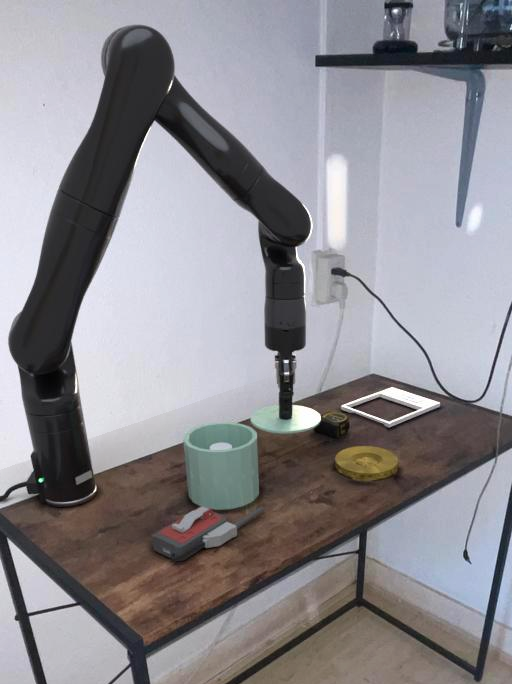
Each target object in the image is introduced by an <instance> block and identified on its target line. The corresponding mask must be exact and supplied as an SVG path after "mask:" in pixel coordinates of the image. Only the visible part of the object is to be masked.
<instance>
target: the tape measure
mask: <svg viewBox="0 0 512 684" xmlns="http://www.w3.org/2000/svg"><path fill="white" fill-rule="evenodd" d="M320 416H321V421H320V423H319V425H318V426H316V427H315V428H313V429H312V430H313V431H315V432H317V433H319V434H323V435H326V436H328V437H332V438H336V439H338V438H340V437H341V436H343V435H345V434H347V433H348V431H349V429H350V421H349V417H348V416H347V415H346V414H345V413H342V412H337V411H329V412H325V413H322V414H320Z"/></svg>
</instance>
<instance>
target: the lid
mask: <svg viewBox="0 0 512 684" xmlns="http://www.w3.org/2000/svg"><path fill="white" fill-rule="evenodd" d="M320 421H321V414H320V413H319V412H318V411H316V410H315V409H313V408H310V407H307V406H303V405H297V404H292V414H291V415H281V414H280V395H279V394H278V404H274V405H269V406H265V407H261V408H259V409H257V410H255V411H254V412H252V414H251V415H250V423H251V424H252V426H253V427H254V428H256V429H258V430H261V431H264V432H267V433H271V434H281V435H282V434H285V435H286V434H299V433H304V432H308V431H311V430H314V429H313V428H315V427H316V426H318V425H319V423H320Z"/></svg>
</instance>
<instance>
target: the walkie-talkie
mask: <svg viewBox="0 0 512 684" xmlns="http://www.w3.org/2000/svg"><path fill="white" fill-rule="evenodd" d="M264 511H265V509H264V507H262V506H259V507H257V508H256V509H255V510H253V511H251V512H250V513H248V514H247V515H246V516H244V517H242V518H241V519H239V520H238V521H234V522H232V523H231V522H229V521H228V519H227V517H226V516H225V515H224V514H221V513H219V512H216V511H214V509H209V508H205V507H203V506H198V507H197V508H195V509H193V510H192V511H190V512H188V513H186V514H185V515H184V516H182V517H180V518H179V519H177V520H176V521H173V522H172V523H170V524H168V525H167V526H165V527H164V528H162V529H160V530H158V531H157V532H155V533H153V534H152V536H151V537H152V545H153V551H154V552H157V553H158V554H160V555H163V556H165V557H168V558H170V560H171V561H172V562H183V561H185V560H187V559H188V558H189V557H191V556H193V555H195V554H196V553H197V552H199V551H200V550H202V549H209V548H216V547H220V546H222V545H224V544H225V543H227V542H228V541H230V540H231V539H233V538H235V537H237V536H238V530H240V528H241V527H243V526H244V525H246V524H247V523H249V522H250V521H252V520H253V519H254V518H255V517H256V516H258V515H259V514H261V513H263V512H264Z"/></svg>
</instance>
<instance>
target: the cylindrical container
mask: <svg viewBox="0 0 512 684" xmlns="http://www.w3.org/2000/svg"><path fill="white" fill-rule="evenodd" d="M182 442H183V451H184V453H183V454H184V462H185V473H186V481H187V482H186V483H187V490H188V491H187V493H188V498H189V499H190V500H191V502H192V503H194V505H197V506H198V507H200V506H203V507H205V508H208V509H211V510H216V511H217V510H218V511H219V510H232V509H236V508H241V507H245V506H246V505H249V504H250V503H252V502H254V501H255V500H256V499H257V497H258V496H259V495H260V479H259V478H260V477H259V453H258V452H259V451H258V450H259V449H258V432H257V431H256V430H255V429H254V428H253V427H251V426H249V425H247V424H246V425H245V424H243V423H238V422H237V423H236V422H230V421H229V422H228V421H223V422H221V421H220V422H219V421H218V422H210V423H206V424H201V425H199V426H196V427H193V428H191V429H190V430H189V431H187V432H186V433H185V434H184V436H183V441H182ZM221 442H222V443H229V444H231V445H232V449H227V450H210V446H211V445H212V444H215V443H221Z"/></svg>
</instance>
